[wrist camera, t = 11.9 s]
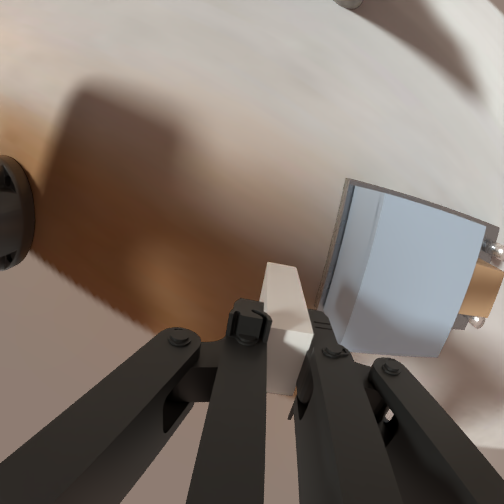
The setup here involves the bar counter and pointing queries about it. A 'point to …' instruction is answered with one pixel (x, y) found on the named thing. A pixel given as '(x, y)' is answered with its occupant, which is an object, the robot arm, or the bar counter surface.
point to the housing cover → (400, 275)
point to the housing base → (491, 232)
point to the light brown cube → (482, 290)
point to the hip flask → (349, 3)
